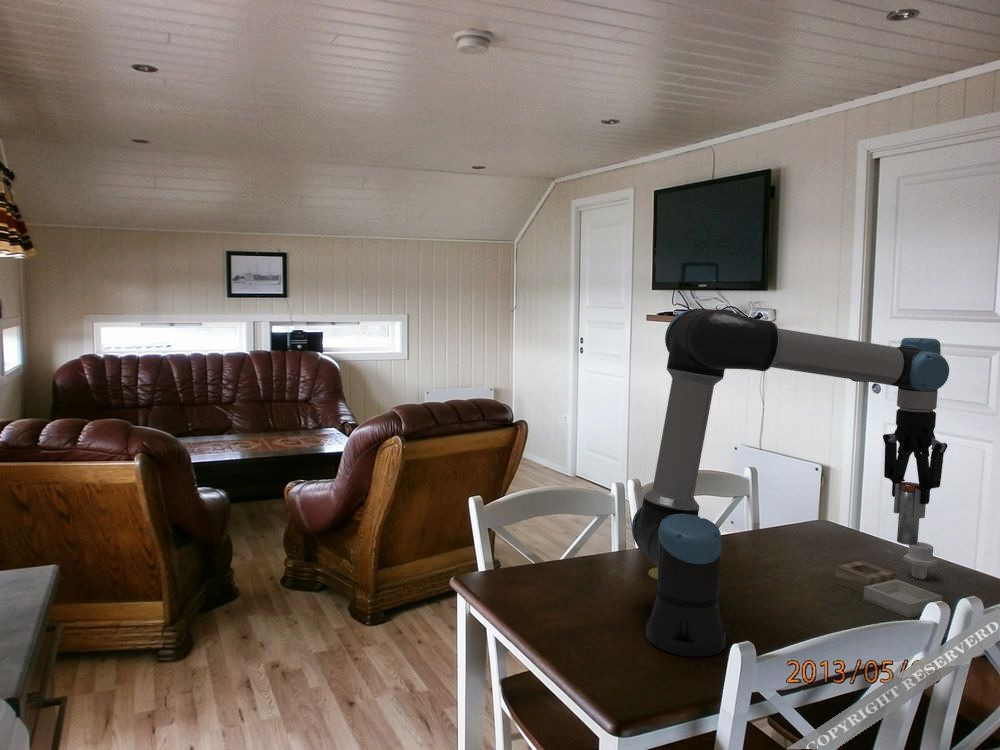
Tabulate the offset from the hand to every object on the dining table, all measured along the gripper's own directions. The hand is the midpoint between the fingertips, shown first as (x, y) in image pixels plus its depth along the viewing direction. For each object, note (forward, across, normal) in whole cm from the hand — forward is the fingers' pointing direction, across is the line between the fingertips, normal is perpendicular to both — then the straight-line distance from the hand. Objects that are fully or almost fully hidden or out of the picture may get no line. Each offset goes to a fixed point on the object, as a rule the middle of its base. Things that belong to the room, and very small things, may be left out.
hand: (908, 514), depth 163 cm
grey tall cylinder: (+6, 0, 0) cm, 6 cm away
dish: (+20, 0, 0) cm, 20 cm away
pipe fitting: (+21, +10, -20) cm, 30 cm away
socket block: (+20, +11, -2) cm, 23 cm away
